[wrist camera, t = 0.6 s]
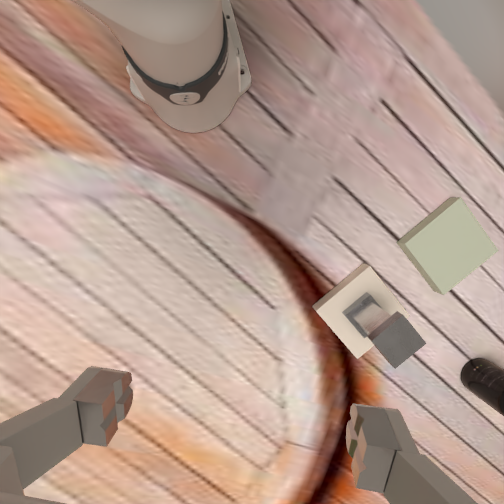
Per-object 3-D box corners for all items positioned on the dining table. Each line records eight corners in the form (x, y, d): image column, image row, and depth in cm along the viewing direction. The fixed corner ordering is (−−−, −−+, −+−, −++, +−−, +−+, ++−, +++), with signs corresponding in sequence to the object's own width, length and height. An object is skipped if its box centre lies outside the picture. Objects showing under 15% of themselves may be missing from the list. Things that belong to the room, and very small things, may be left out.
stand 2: (396, 242, 51) (404, 244, 49) (449, 197, 51) (460, 197, 48) (434, 291, 53) (443, 295, 51) (485, 248, 52) (498, 250, 50)
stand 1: (311, 306, 52) (315, 311, 50) (363, 263, 51) (369, 265, 49) (351, 352, 54) (357, 359, 51) (401, 311, 53) (410, 316, 51)
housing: (341, 312, 50) (371, 340, 39) (366, 292, 50) (403, 314, 39) (360, 334, 51) (395, 368, 40) (384, 314, 50) (426, 343, 40)
